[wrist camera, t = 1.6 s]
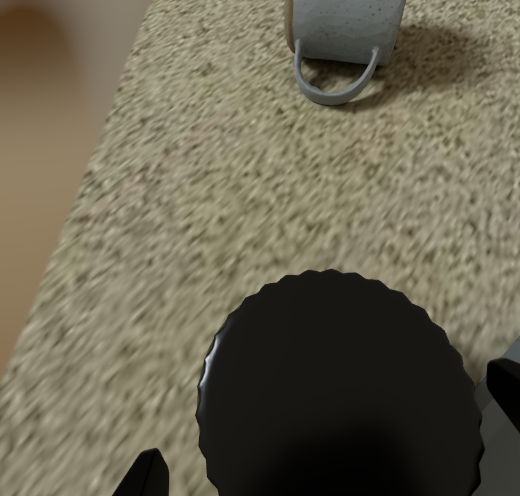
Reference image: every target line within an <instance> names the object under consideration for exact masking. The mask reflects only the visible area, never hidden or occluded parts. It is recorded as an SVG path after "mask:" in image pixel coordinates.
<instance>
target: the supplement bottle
mask: <svg viewBox="0 0 520 496" xmlns="http://www.w3.org/2000/svg"><path fill="white" fill-rule="evenodd" d="M197 388H198V396H197V411H196V414H195V416H196V419H197V423H198V425H199V432H200V435H199V445H198V446H199V448H200V450H201V452H202V454H203V456H204V457H205V459H206V470H207V478H208V479H209V480H210V482H211V483H212V484H213V485H214V486H215V487H216V488H217V489H218V493H219V496H472V494H473V493H474V491H475V490H477V488H478V487H479V485H480V484H481V473H480V467H479V463H480V461H481V459H482V457H483V454H484V451H485V446H484V443H483V439H482V436H481V433H480V426H481V424H482V417H483V415H482V413H481V411H480V409H479V407H478V405H477V403H476V401H475V399H474V393H475V387H474V383H473V381H472V380H471V378H470V377H469V376H468V374H467V373H466V372H465V371H464V367H463V360H462V356H461V355H460V353H459V352H458V351H457V350H456V349H455V348H454V347H452V346H451V345H450V343H449V340H448V338H447V335H446V333H445V331H444V330H443V329H442V328H441V327H439V326H438V325H436V324H435V323H433V322H432V321H431V319H430V318H429V316H428V314H427V312H426V311H425V309H423V308H421V307H419V306H417V305H415V304H412V303H411V302H410V301H409V299H408V298H407V297H406V296H405V295H404V294H403V293H402V292H399V291H396V290H391V289H389V288H388V287H386V286H385V284H383V283H382V282H381V281H380V280H373V279H365V278H364V277H362V276H361V275H359V274H358V273H356V272H355V273H344V274H343V273H340V272H339V271H337V270H334V269H329V270H325V271H322V272H318V271H314V270H307V271H305V272H303V273H301V274H300V275H285V276H284V277H283V278H281V279H280V280H279V281H278V282H277V283H269V284H265V285H264V286H263V287H262V288H261V289H260V291H259V292H258V293H256V294H254V295H251V296H248V297H246V298H245V299H244V301H243V302H242V304H241V305H240V306H239V307H238V308H237V309H236V310H235V311H233V312H232V313H230V314H229V315H228V317H227V319H226V321H225V322H224V323H223V325H222V326H221V327H220V329H219V331H218V332H217V333H216V334H215V335H214V339H213V341H212V343H211V345H210V347H209V349H208V352H207V354H206V357H205V358H204V363H203V367H202V370H201V375H200V380H199V383H198V386H197Z"/></svg>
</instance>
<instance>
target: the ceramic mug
mask: <svg viewBox="0 0 520 496" xmlns="http://www.w3.org/2000/svg"><path fill="white" fill-rule="evenodd" d="M405 3H406V0H285V11H284V17H285V35H286V40H287V44H288V46H289V48H290V50H291V51H292V52H293V53H294V54H295V56H294V66H295V74H296V80H297V83H298V86H299V88H300V90H301V92H302V93H303V94H304V95H305V96H306V97H307V98H309V99H310V100H312V101H314V102H316V103H319V104H324V105H340V104H344V103H346V102H348V101H350V100H351V99H353V98H355V97H356V96H357V95H359V94H360V93H361V91H362V90H363V89H364V88H365V87H366V85H367V84H368V82H369V80H370V78H371V76H372V74H373V72H374V70H375V68H376V65H383V66H385V65H387V64H388V62H389V60H390V58H391V54H392V51H393V48H394V45H395V42H396V38H397V35H398V31H399V27H400V23H401V20H402V16H403V11H404V7H405ZM303 56H304V57H307V58H312V59H327V60H336V61H343V62H351V63H360V64H369V66H368V67H367V69H366V70H365V72H364V74H363V75H362V76H361V77H360V79H358V80H357V81H356V82H355V83H354V84H352V85H351V86H349V87H347V88H346V89H345V90H342V91H340V92H338V93H331V94H330V93H325V92H323V91H321V90H320V89H318V88H317V87H314V86H311V85H310V84H309V82H307V81H306V80H305V79H304V77H303V75H302V72H301V62H302V57H303Z"/></svg>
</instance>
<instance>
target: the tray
mask: <svg viewBox="0 0 520 496" xmlns="http://www.w3.org/2000/svg"><path fill="white" fill-rule="evenodd" d="M502 358H508V359H510V360H513V361H515V362H518V363H520V336H519V337H518V338H517V340H516V341H515V342H514V343H513V344H512V346H511V347H510V348H509V349H508V350H507V352H506V353H505V354H504V355H503V356H502ZM486 377H487V376H486ZM486 377H485V378H484V379H483V380H482V382H481V383H480V384H479V385H478V386H477V388H476V389H475V393H474V399H475V401H476V403H477V405H478V407H479V409H480V411H481V413H482V415H483V417H482V424H481V426H480V433H481V436H482V439H483V443H484V446H485V451H484V454H483V457H482V459H481V461H480V463H479V467H480V473H481V484H480V485H479V487H478V488H477V490H475V491H474V493H473V494H472V496H520V433H519V432H518V431H517V429H516V428H515V427H514V425H513V424H512V423H511V421H510V420H509V419H508V417H507V416H506V414H505V413H504V412H503V410H502V409H501V408H500V406H499V405H498V404H497V402H496V401H495V399H494V398H493V397H492V395H491V394H490V392H489V391H488V388H487V385H486Z"/></svg>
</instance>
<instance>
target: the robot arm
mask: <svg viewBox="0 0 520 496" xmlns="http://www.w3.org/2000/svg"><path fill="white" fill-rule="evenodd" d="M486 385H487V388H488V391H489V392H490V394H491V395H492V397H493V398H494V399H495V401H496V402H497V404H498V405H499V406H500V408H501V409H502V410H503V412H504V413H505V414H506V416H507V417H508V419H509V420H510V421H511V423H512V424H513V425H514V427H515V428H516V429H517V431H518V432H519V433H520V363H518V362H515V361H513V360H510V359H508V358H499V359H495V360H491V361H489V362H488V364H487V377H486ZM112 496H169V470H168V466H167V464H166V462H165V460H164V458H163V457H162V455H161V453H160V451H159V449H157V448H153V449H149V450H145V451H143V452H141V453H140V454H139V456H138V457H137V459H136V460H135V462H134V463H133V465H132V466H131V468H130V469H129V471H128V472H127V474H126V475H125V477H124V478H123V480H122V481H121V483H120V484H119V486H118V487H117V489H116V490H115V492H114V493H113V495H112Z"/></svg>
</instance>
